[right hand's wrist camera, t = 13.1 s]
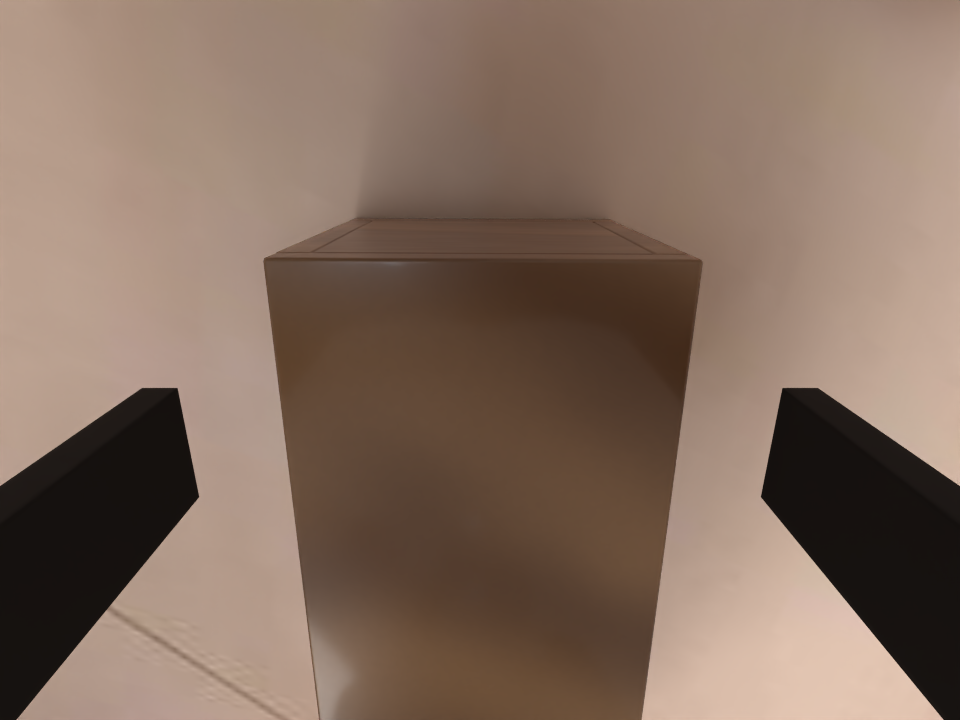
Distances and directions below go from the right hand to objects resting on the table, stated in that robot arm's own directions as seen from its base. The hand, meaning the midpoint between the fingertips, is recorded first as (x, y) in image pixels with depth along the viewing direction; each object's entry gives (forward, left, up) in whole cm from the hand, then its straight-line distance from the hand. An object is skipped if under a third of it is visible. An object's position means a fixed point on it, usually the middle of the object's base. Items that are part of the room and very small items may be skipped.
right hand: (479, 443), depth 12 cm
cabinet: (+6, +4, -13) cm, 15 cm away
